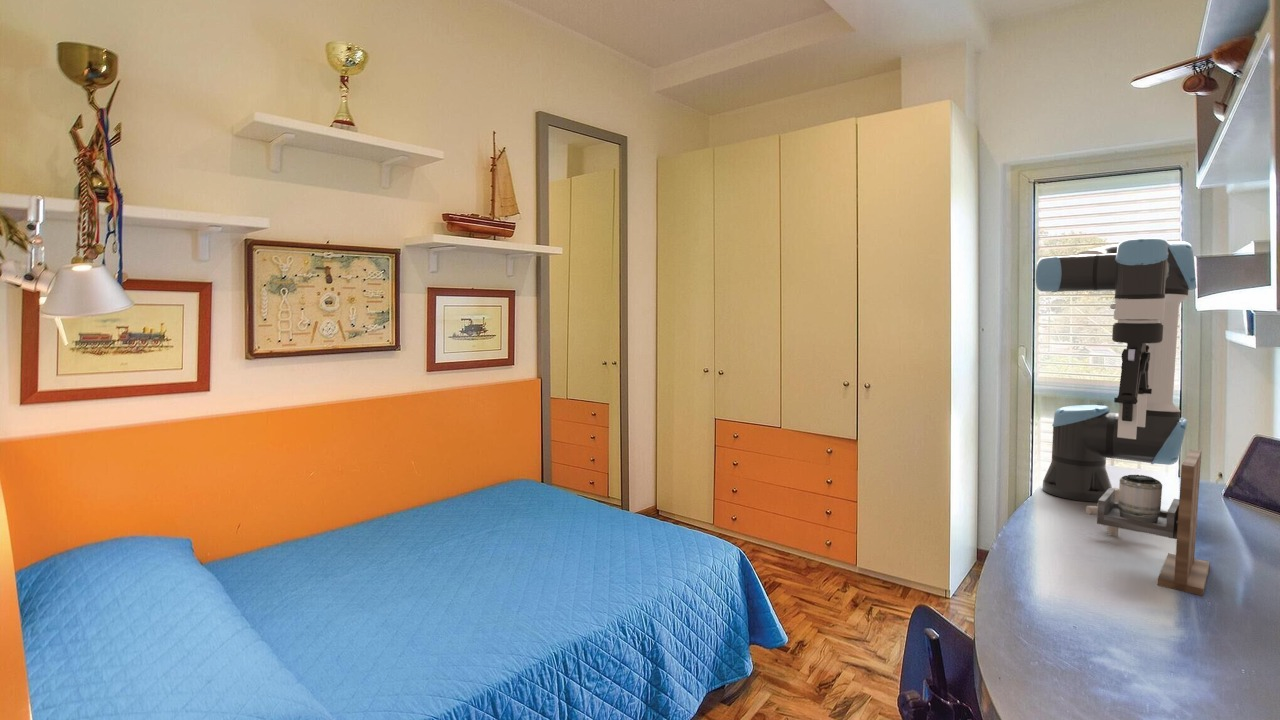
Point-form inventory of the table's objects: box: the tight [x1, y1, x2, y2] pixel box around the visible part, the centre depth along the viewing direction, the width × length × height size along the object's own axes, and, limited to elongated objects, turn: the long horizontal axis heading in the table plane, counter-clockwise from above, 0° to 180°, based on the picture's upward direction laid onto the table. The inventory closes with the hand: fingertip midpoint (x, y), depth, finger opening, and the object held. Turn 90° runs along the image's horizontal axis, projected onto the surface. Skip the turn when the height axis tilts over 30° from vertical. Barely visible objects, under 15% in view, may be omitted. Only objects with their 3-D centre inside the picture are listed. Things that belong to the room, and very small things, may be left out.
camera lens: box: [1118, 474, 1163, 523], centre depth 118 cm, size 6×6×8 cm
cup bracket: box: [1096, 449, 1211, 596], centre depth 117 cm, size 16×16×22 cm
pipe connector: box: [1085, 487, 1119, 537], centre depth 135 cm, size 10×10×10 cm
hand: (1131, 432), depth 121 cm, fingers open, 13 cm apart
